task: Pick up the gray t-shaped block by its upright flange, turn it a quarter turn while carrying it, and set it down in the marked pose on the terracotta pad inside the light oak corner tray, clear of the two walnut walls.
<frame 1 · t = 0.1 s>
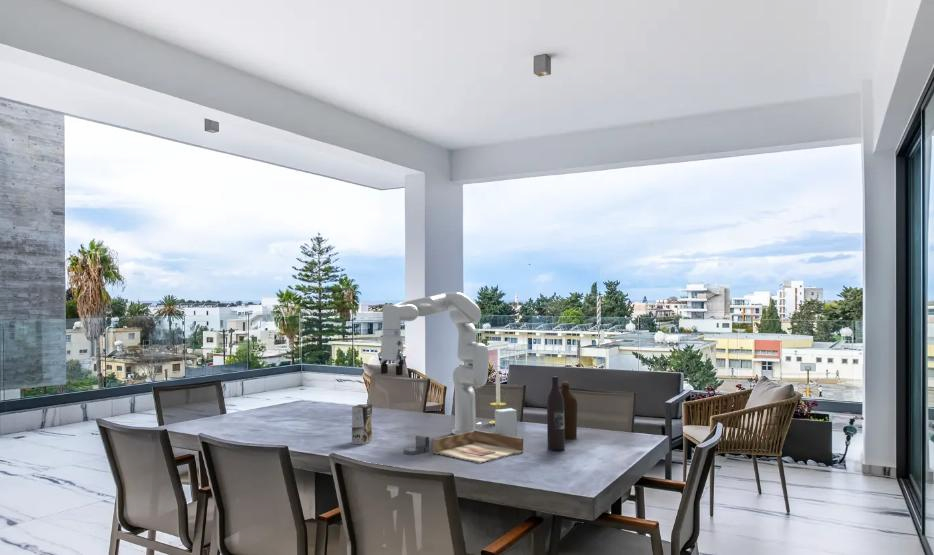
hand: (391, 374, 267), 31 cm above the table, tool pointing down, fingers open, 9 cm apart
wine bottle: (556, 449, 263), on the table
coffee box: (362, 442, 280), on the table
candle: (498, 423, 324), on the table
gray t-shaped block: (415, 452, 260), on the table
olive oil: (565, 437, 287), on the table
skincare box: (506, 444, 274), on the table
corner arena: (478, 452, 258), on the table
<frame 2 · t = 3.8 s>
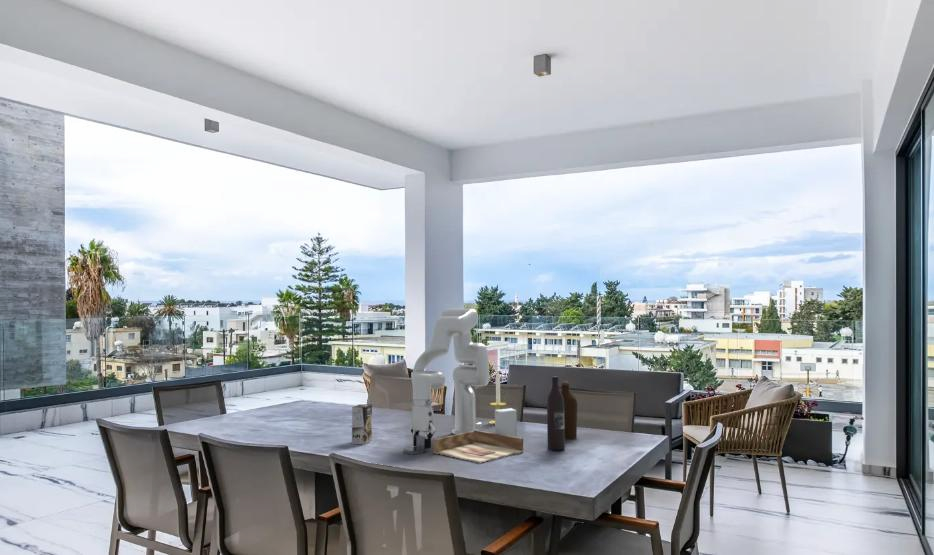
hand: (422, 446, 263), 2 cm above the table, tool pointing down, fingers closed on gray t-shaped block, 6 cm apart
gray t-shaped block: (415, 452, 260), on the table, touching gripper
everything else where it was.
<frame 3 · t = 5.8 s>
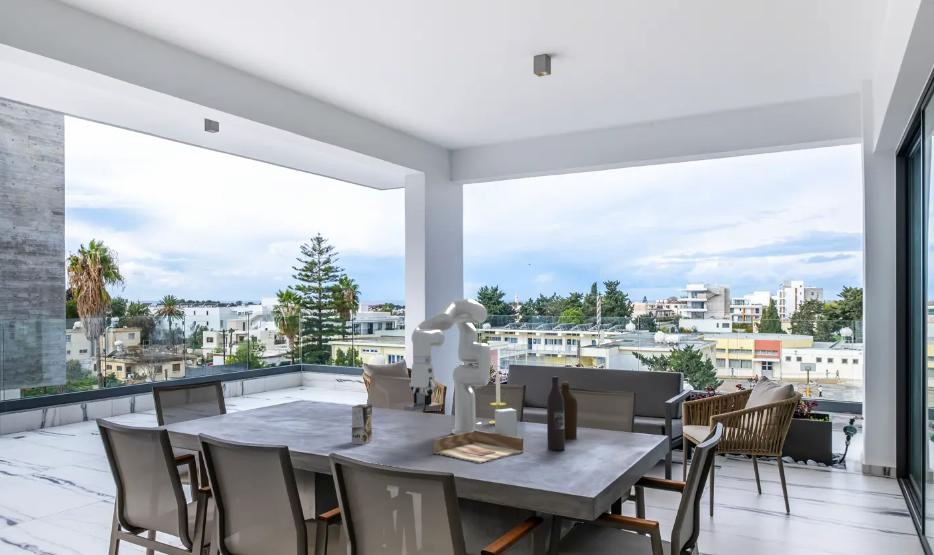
hand: (422, 403, 264), 19 cm above the table, tool pointing down, fingers closed on gray t-shaped block, 6 cm apart
gray t-shaped block: (416, 408, 261), point 18 cm above the table, touching gripper
everything else where it was.
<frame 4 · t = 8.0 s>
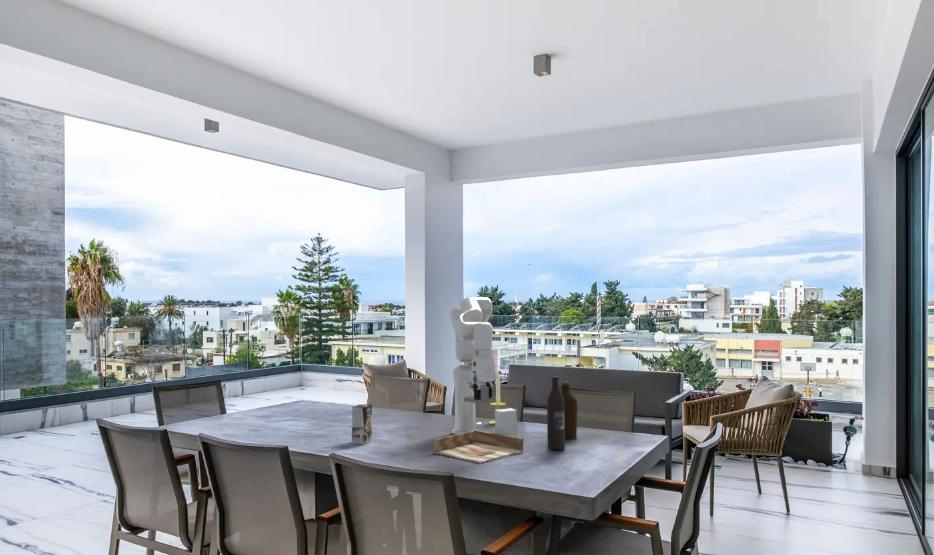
hand: (483, 398, 254), 23 cm above the table, tool pointing down, fingers closed on gray t-shaped block, 6 cm apart
gray t-shaped block: (476, 401, 256), point 21 cm above the table, touching gripper
everything else where it was.
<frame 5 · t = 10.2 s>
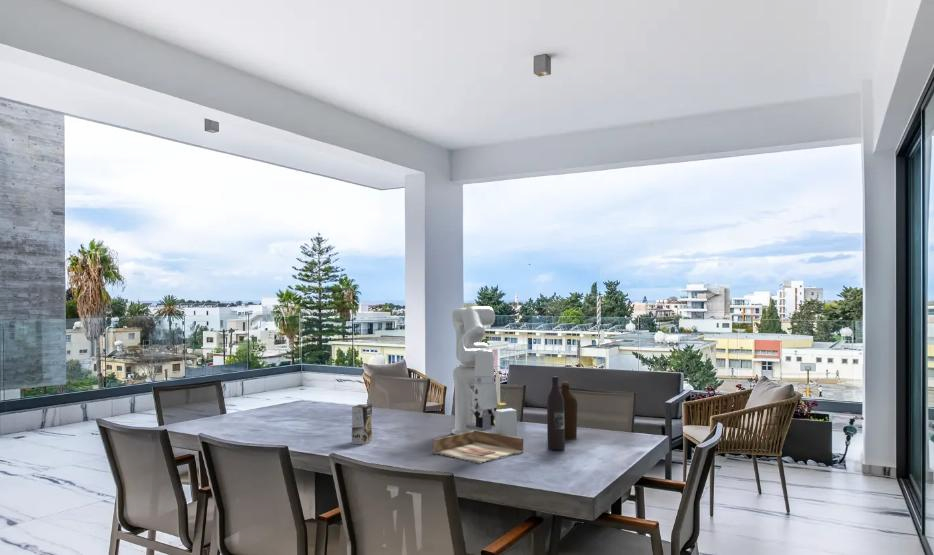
hand: (484, 425, 253), 12 cm above the table, tool pointing down, fingers closed on gray t-shaped block, 6 cm apart
gray t-shaped block: (478, 428, 255), point 10 cm above the table, touching gripper
everything else where it was.
when the fingers open (4 cm above the table, at t = 12.2 s): gray t-shaped block drops 1 cm, resting on corner arena.
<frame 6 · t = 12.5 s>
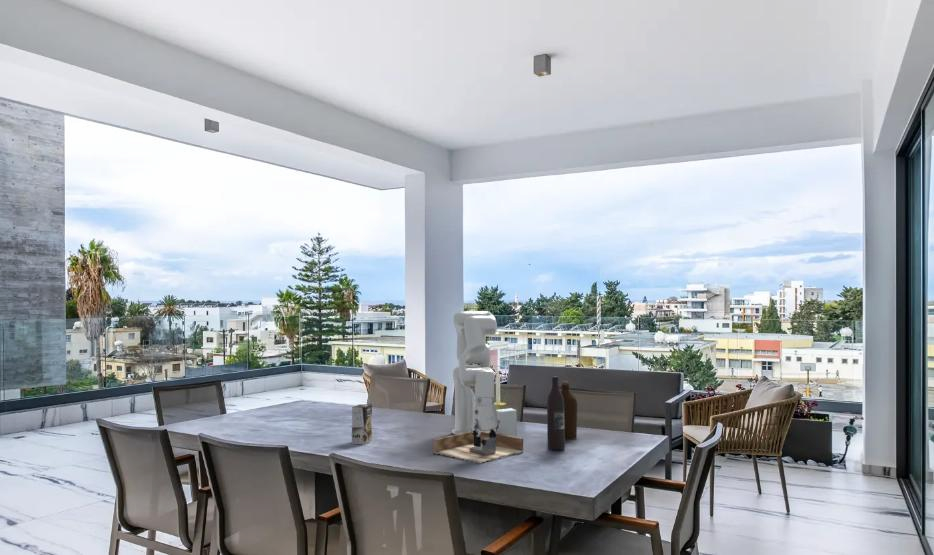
hand: (485, 444, 253), 4 cm above the table, tool pointing down, fingers open, 8 cm apart
gray t-shaped block: (482, 452, 254), point 1 cm above the table, touching corner arena
everything else where it was.
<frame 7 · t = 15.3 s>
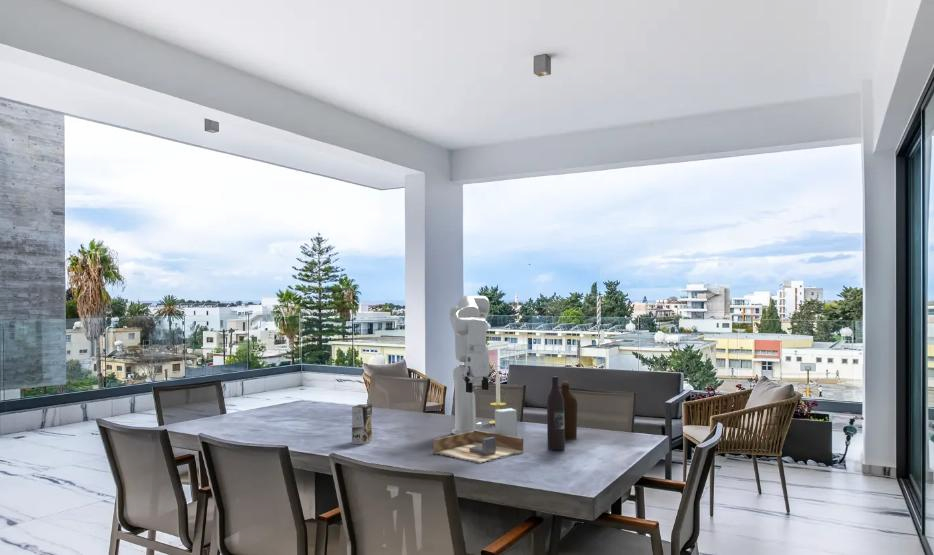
hand: (477, 390, 259), 25 cm above the table, tool pointing down, fingers open, 9 cm apart
nothing on the table moved.
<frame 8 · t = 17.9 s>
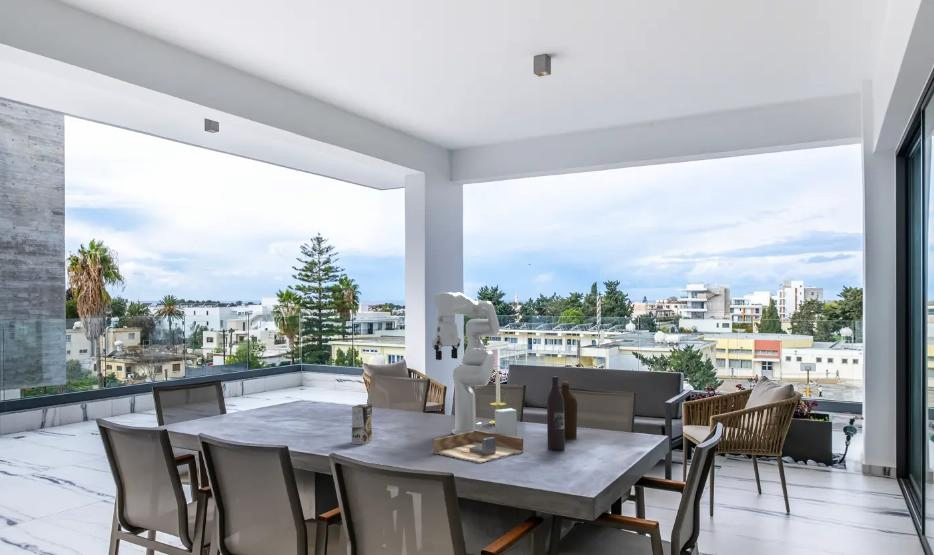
hand: (446, 359, 280), 36 cm above the table, tool pointing down, fingers open, 9 cm apart
nothing on the table moved.
at the end: gray t-shaped block 1.9 cm from the target spot on the corner arena, point 1.1 cm above the corner arena's base; gray t-shaped block tilted 0°; the gripper is holding nothing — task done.
